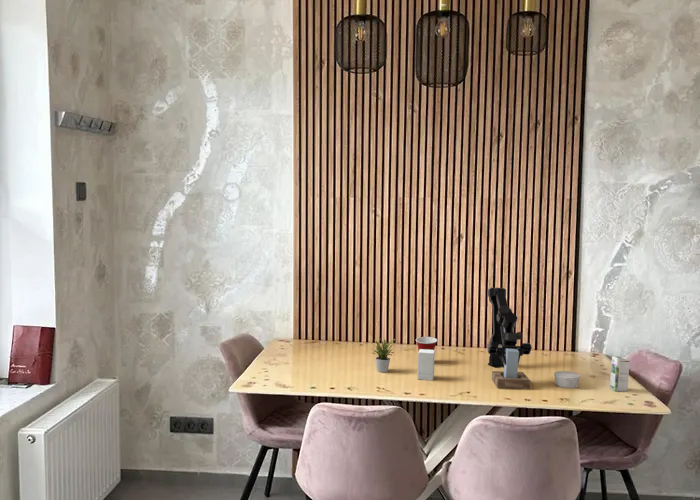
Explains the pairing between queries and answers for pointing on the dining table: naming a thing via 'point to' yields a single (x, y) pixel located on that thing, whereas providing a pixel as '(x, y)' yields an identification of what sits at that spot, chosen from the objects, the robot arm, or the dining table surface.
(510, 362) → the slate blue peg
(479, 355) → the dining table surface
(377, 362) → the house plant
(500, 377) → the walnut socket block
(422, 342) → the plastic cup
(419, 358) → the supplement box
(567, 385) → the ramekin
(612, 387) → the syrup box
